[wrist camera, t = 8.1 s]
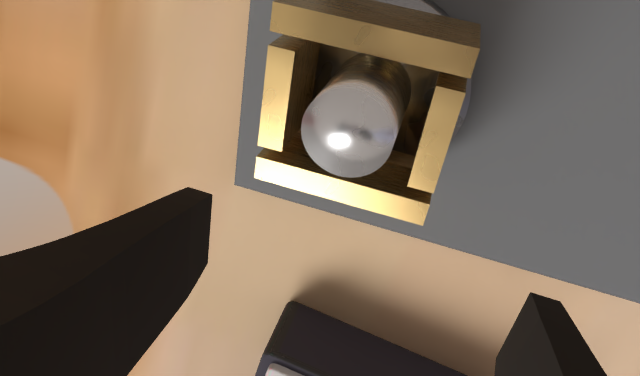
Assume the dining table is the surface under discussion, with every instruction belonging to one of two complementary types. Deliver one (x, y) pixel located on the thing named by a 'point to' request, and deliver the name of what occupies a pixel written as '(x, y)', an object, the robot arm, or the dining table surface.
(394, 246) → the dining table surface
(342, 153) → the silver disc with post
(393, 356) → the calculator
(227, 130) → the dining table surface
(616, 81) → the mat
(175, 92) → the dining table surface
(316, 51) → the bronze square frame
